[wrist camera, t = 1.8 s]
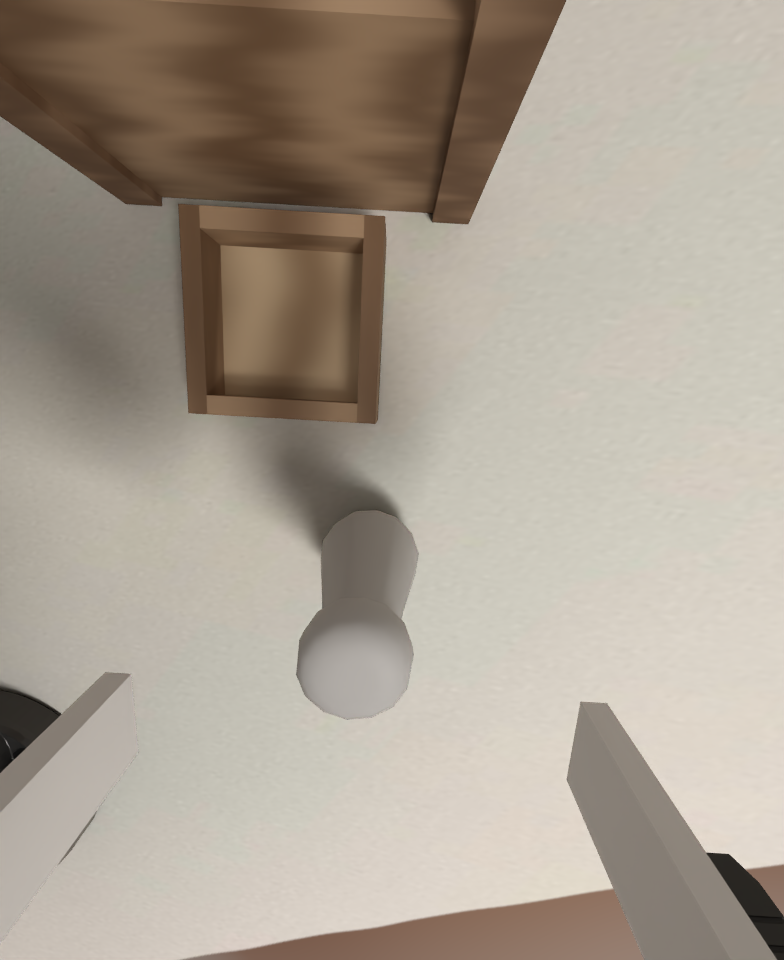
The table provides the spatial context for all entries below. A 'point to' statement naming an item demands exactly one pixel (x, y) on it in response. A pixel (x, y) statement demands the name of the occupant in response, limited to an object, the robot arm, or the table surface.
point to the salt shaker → (360, 618)
